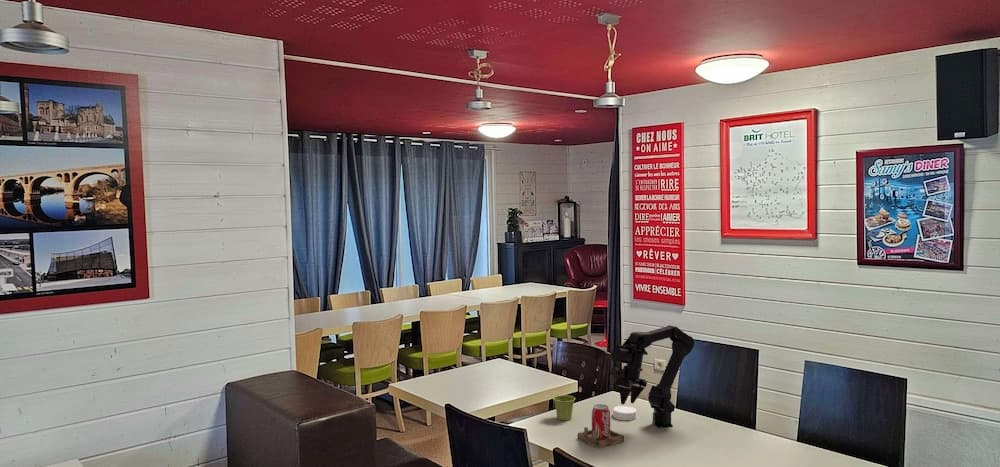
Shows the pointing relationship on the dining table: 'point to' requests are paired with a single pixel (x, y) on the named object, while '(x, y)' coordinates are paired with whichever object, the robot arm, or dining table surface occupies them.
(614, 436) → the caddy
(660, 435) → the dining table surface
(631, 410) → the coaster
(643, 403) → the dining table surface
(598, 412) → the soda can
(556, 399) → the plant pot
